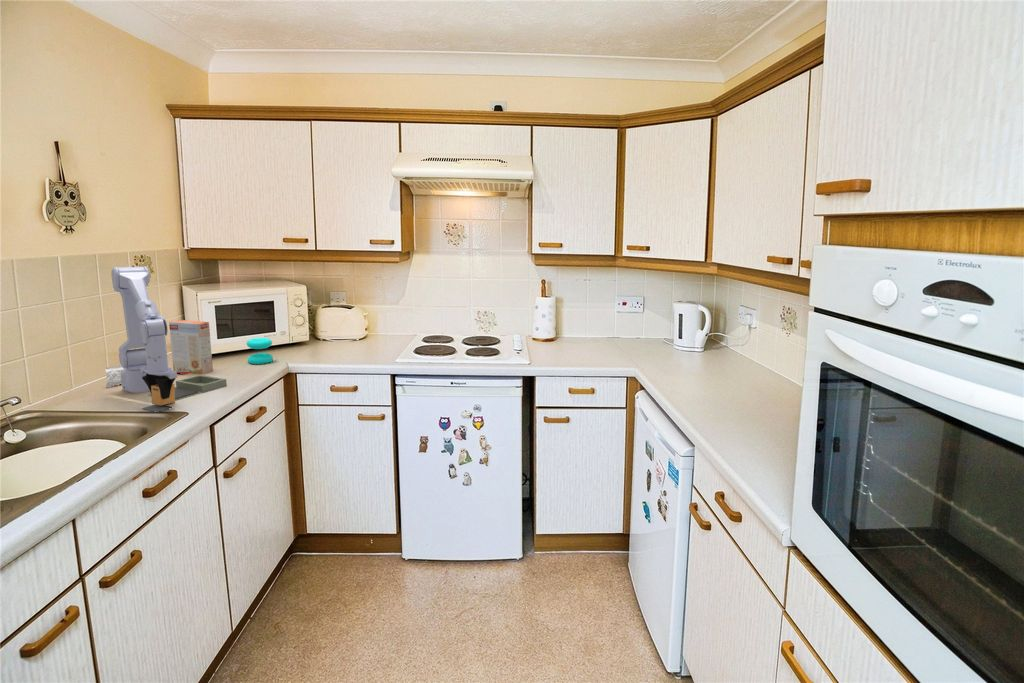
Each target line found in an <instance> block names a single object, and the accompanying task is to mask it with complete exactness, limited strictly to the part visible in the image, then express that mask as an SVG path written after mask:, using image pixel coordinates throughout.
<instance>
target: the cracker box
mask: <svg viewBox="0 0 1024 683" xmlns="http://www.w3.org/2000/svg"><path fill="white" fill-rule="evenodd" d="M168 325H169V335H170V348H171V358H172V367H173V368H172V370H173V371H175V372H177V373H180V374H179V375H189V374H195V375H206V374H208V373H212V372H214V370H213V369H214V368H213V356H212V343H211V331H210V330H211V329H210V322H209V321H199V320H198V321H197V320H184V319H177V320H172V321H169V322H168Z"/></svg>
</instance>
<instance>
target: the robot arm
mask: <svg viewBox="0 0 1024 683" xmlns="http://www.w3.org/2000/svg"><path fill="white" fill-rule="evenodd" d="M110 274H111V282H112V287H113V291H114V292H116V293H117V292H118V293H119V294H120V298H121V303H122V307H123V309H122V310H123V314H124V315H123V316H124V322H125V323H124V324H125V331H126V337H127V340H126V341H125V342H123V343H122V344H121V345H120V346H119V348H118V351H119V354H118V360H119V363H120V366H122V367H123V368H124V369H123V370H122V372H121V381H122V385H121V387H122V388H121V389H122V391H126V392H129V393H133V394H134V393H140V394H141V393H145V392H150V394H151V395H152V392H151V386H152V385H157V384H158V386H159V389H160V394H161V397H162V399H166V398H169V396H170V391H171V387H172V384H174V382H175V381H176V379H177V378H178V374H177V372H175V371H174V370H173V369H172V367H171V366H169V363H168V350H167V340H166V336H167V335H168V324H167V321H166V319H165V317H163V315H160V312H159V310H158V307H157V305H156V303H155V302H154V301H153V300H150V296H149V292H148V288H147V287H148V286H149V283H150V281H151V276H150V270H149V269H148V267H147V266H145V265H142V266H124V267H123V266H113V267H112V268H111V273H110Z"/></svg>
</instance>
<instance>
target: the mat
mask: <svg viewBox="0 0 1024 683" xmlns="http://www.w3.org/2000/svg"><path fill="white" fill-rule="evenodd" d="M172 407H173V406H169V405H166V404H165V405H161V406H160V405H155V404H151V405H148V406H145V407H142V408H141V409H142V410H143V409H144V410H143V411H147V410H149V411H148V412H152V411H156V412H155V413H157V412H158V413H160V412H159V411H162V412H164V411H163V410H165V411H167V410H166V409H168V410H170V409H169V408H172ZM172 409H173V408H172Z"/></svg>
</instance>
